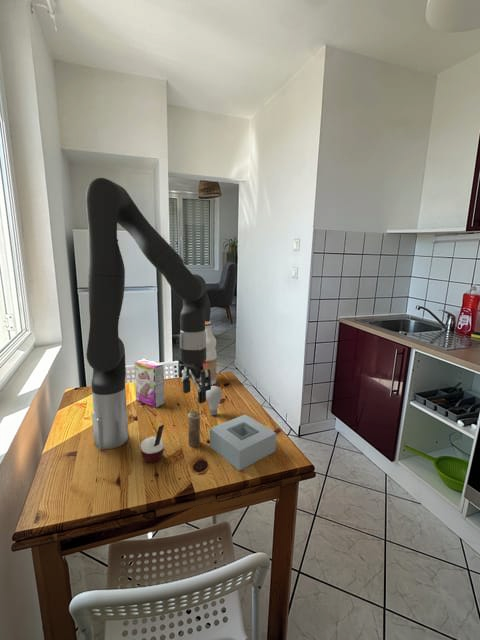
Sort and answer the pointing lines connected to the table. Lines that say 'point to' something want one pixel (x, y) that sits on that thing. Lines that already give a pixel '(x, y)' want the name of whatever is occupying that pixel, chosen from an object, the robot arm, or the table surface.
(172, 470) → the table surface
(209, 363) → the fruit juice
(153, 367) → the candy bar box
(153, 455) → the cocoa
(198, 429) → the dowel
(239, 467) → the socket block
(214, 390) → the lightbulb
